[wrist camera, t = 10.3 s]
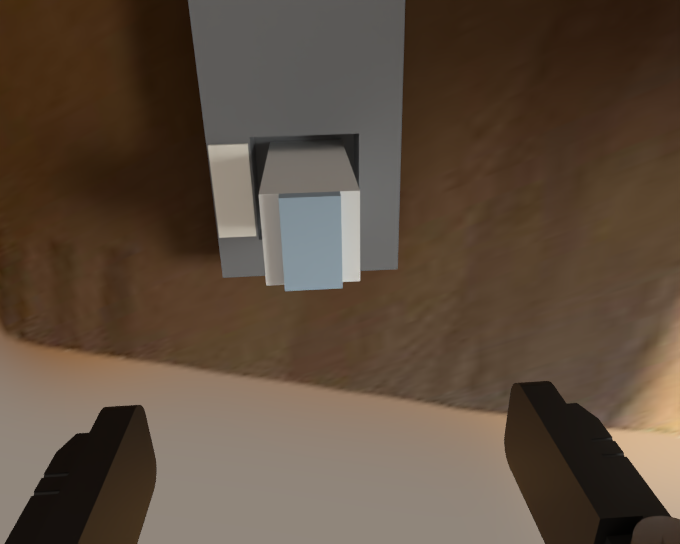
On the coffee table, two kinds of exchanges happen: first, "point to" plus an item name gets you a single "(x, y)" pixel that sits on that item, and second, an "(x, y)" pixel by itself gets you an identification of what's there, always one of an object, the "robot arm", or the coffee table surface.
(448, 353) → the coffee table surface
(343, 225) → the plug
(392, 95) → the socket panel
